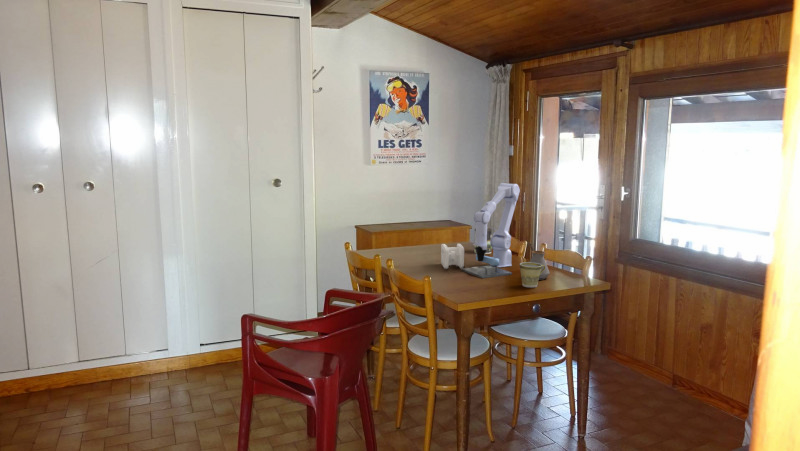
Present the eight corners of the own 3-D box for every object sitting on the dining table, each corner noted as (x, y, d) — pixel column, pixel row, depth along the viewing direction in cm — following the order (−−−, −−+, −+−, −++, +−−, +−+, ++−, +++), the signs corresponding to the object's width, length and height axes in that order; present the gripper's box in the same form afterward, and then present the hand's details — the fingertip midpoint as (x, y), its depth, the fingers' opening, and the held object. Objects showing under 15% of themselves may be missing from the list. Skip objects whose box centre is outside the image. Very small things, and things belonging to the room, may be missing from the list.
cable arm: (500, 265, 281) (500, 259, 280) (495, 265, 279) (495, 260, 279) (479, 259, 294) (479, 253, 294) (474, 260, 292) (474, 254, 292)
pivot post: (495, 272, 283) (495, 264, 283) (497, 272, 282) (498, 265, 281) (492, 272, 282) (492, 265, 282) (494, 273, 281) (495, 266, 280)
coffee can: (490, 251, 338) (490, 227, 336) (492, 254, 328) (493, 230, 326) (472, 250, 338) (473, 227, 336) (474, 254, 328) (475, 230, 326)
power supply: (489, 270, 283) (489, 265, 283) (495, 272, 279) (495, 267, 278) (480, 271, 281) (481, 265, 280) (486, 273, 276) (487, 267, 276)
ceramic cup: (527, 289, 250) (528, 267, 249) (514, 284, 260) (515, 263, 258) (550, 286, 256) (552, 265, 254) (537, 281, 265) (538, 261, 263)
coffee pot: (552, 280, 267) (554, 249, 265) (528, 280, 266) (530, 249, 264) (538, 270, 288) (540, 241, 286) (516, 270, 287) (518, 241, 285)
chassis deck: (489, 267, 294) (490, 265, 294) (511, 274, 278) (511, 272, 278) (461, 270, 286) (461, 268, 286) (482, 278, 270) (482, 276, 270)
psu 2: (479, 271, 280) (479, 266, 280) (485, 273, 276) (485, 268, 276) (471, 272, 278) (471, 267, 278) (476, 274, 274) (477, 269, 273)
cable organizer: (464, 270, 287) (465, 248, 285) (443, 270, 286) (444, 248, 284) (459, 264, 301) (459, 242, 300) (439, 264, 301) (440, 242, 299)
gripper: (469, 232, 291) (469, 258, 293) (477, 237, 277) (476, 264, 279) (483, 232, 292) (482, 258, 294) (491, 237, 278) (490, 264, 280)
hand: (480, 261), depth 287 cm, fingers closed
